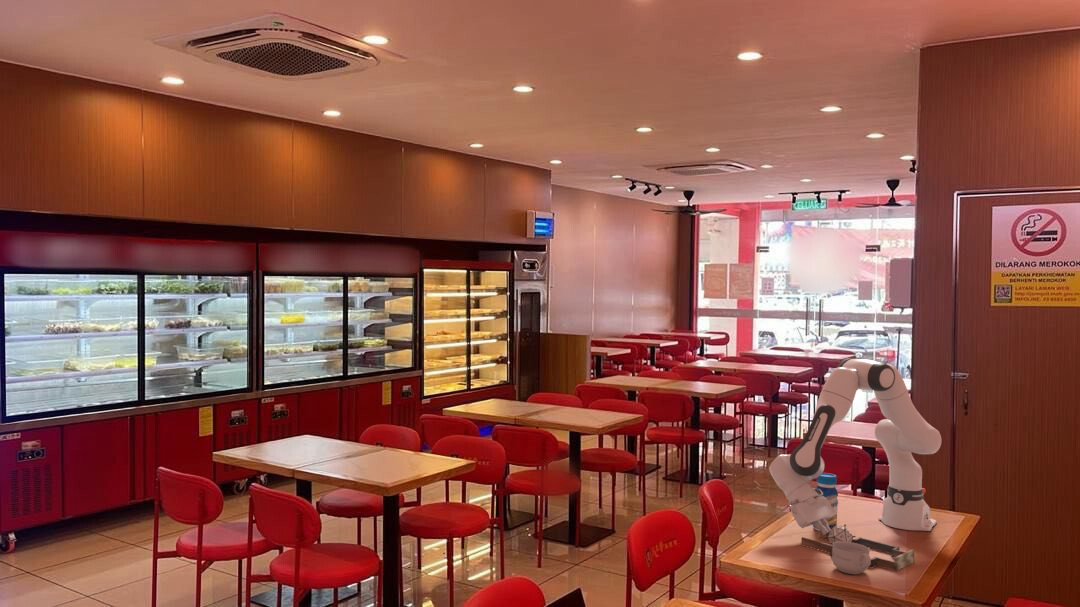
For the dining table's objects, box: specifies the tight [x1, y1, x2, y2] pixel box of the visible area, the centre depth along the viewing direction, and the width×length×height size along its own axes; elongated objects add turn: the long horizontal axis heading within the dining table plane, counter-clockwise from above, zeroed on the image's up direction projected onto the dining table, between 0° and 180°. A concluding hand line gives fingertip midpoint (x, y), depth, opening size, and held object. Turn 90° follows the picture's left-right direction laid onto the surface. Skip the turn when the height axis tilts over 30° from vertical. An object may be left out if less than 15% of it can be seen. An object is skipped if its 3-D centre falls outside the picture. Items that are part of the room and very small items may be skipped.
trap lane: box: [800, 531, 916, 572], centre depth 265 cm, size 21×32×4 cm, turn 43°
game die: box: [824, 524, 857, 545], centre depth 269 cm, size 9×8×10 cm
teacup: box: [831, 541, 872, 575], centre depth 246 cm, size 14×11×8 cm
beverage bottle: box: [812, 472, 839, 532], centre depth 291 cm, size 8×8×20 cm
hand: (828, 533), depth 272 cm, fingers closed
